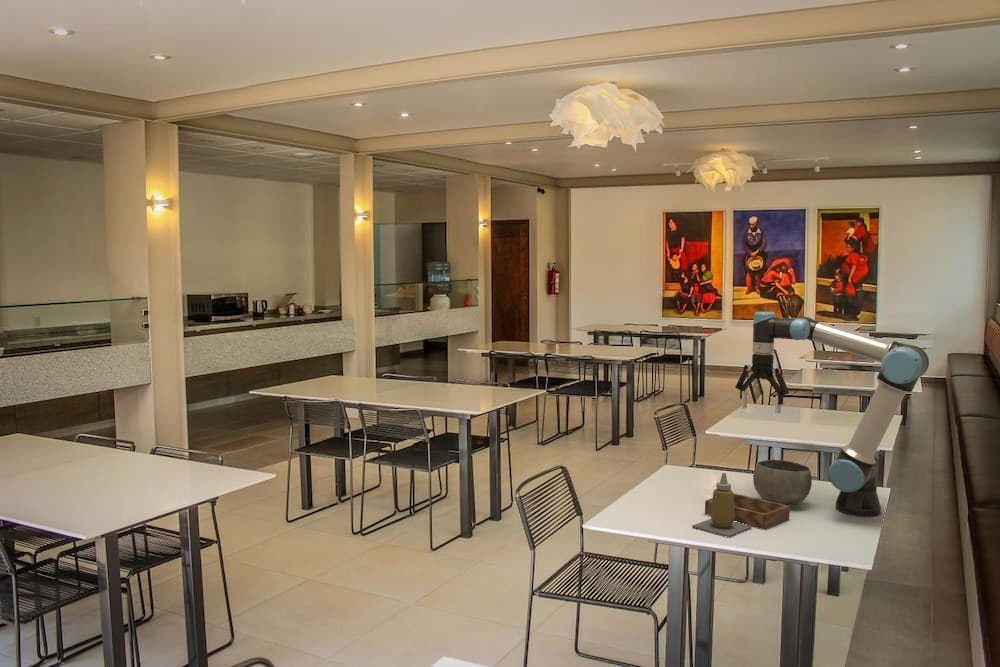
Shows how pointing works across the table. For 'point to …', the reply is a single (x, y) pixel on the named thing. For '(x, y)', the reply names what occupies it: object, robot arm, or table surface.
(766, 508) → the tray
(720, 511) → the squeeze bottle
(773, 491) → the bowl
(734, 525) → the charcoal mat
